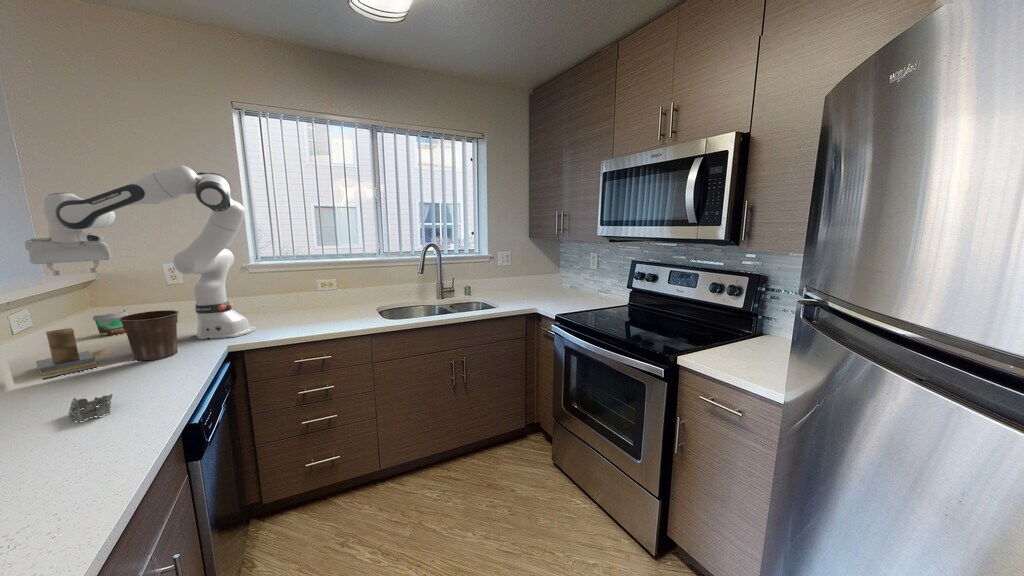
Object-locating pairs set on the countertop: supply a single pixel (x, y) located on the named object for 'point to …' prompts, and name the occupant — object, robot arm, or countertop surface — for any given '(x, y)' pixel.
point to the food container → (110, 324)
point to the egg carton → (89, 408)
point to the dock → (65, 365)
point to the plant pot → (152, 334)
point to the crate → (62, 345)
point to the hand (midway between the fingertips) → (75, 274)
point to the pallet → (101, 352)
